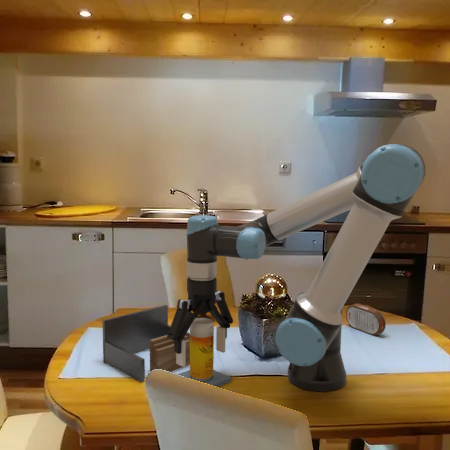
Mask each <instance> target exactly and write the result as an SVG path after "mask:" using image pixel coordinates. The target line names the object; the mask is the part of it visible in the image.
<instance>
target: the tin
mask: <svg viewBox="0 0 450 450" xmlns="http://www.w3.org/2000/svg"><path fill="white" fill-rule="evenodd" d="M345 311H346V312H345V315H346V321H347V323H348V325H349V326H350V327H351V328H352V329H355V330H357V331H359V332H363V333H364V334H365V333H366V334H367V335H371V336H377V335H381V334H382V333H384V332H385V329H386V327H387V325H386V323H387V322H386V319H385V317H384V315H383V313H382V312H381V311H379V310H378V309H376V308H373V307H369V306H367V305H363V304H361V303H353V304H351V305H349V306H348V307H347V308H346V310H345Z"/></svg>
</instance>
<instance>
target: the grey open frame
mask: <svg viewBox="0 0 450 450" xmlns="http://www.w3.org/2000/svg"><path fill="white" fill-rule="evenodd" d="M168 308H169V305H168V304H163V305H159V306H154V307H151V308H147V309H142V310H138V311H135V312H130V313H126V314H122V315H118V316H114V317H110V318H104V319H102V355H103V360H102V361H103V363H106V364H108V365H109V366H111V367H113V368H115V369H116V370H117V371H120V372H122V373H124V374H125V375H128V376H129V377H130V378H132V379H135V380H136V381H138V382H139V383H144V382H145V381H144V379H146V378H145V377H146V374H145V372H146V369H145V368H146V365H145V358H143V357H141V356H139V355H137V353H141V352H144V351H147V350H150V340H151V339H155V338H158V337H161V336H165V335H168V332H169V329H170V327H171V324H169V309H168ZM186 336H187V340H189V341H190V332H188V331H187V333H186Z"/></svg>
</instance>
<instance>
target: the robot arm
mask: <svg viewBox="0 0 450 450" xmlns="http://www.w3.org/2000/svg"><path fill="white" fill-rule="evenodd" d="M425 176H426V164H425V161H424V159H423V157H422V156H421V154H420V153H419V151H417V150H416V149H415V148H413V147H410V146H408V145H405V144H404V145H403V144H399V143H390V144H385V145H381V146H380V147H378V148H376V149H374V151H372V152H371V153H370V154H369V155H367V157H366V159H364V162H363V164H362V165H360V166H358V169H357V171H356V172H355V173H353V174H350V175H348V176H346V177H344V178H341V179H339V180H338V181H336V182H334V183H331V184H328V185H326V186H325V187H322V188H320V189H318V190H316V191H314V192H311V193H309V194H308V195H306V196H302V197H300V198H299V199H297V200H294V201H292V202H290V203H288V204H286V205H284V206H281V207H280V208H278V209H276V210H273V211H271V212H269V213H267V214H265V215H263V216H260V217H257V218H256V219H254V220H251V221H249V222H247V223H244V224H241V225H238V226H234V225H221V224H219V223H218V218H217V216H214V215H213V216H212V215H206V214H205V215H203V214H201V215H198V214H197V215H193V216H190V217H189V218H188V219H187V226H186V234H185V235H186V250H187V251H186V252H187V254H186V276H187V278H186V291H187V299H185V300H183V299H178V300H177V306H176V307H177V308H176V310H175V314H174V316H173V320H172V322H171V324H170V325H171V327H170V329H169V332H168V335H167V338H169V339H171V340H173V341H174V351H175V353H176V364H178V365H180V366H182V368H185V367H186V366H185V340H183V338H184V337H185V335H186V333H187V332H188V331H190V326H191V324H192V323H193V321H194V319H196V318H197V317H199V316H200V315H201V314H203V313H206V314H208V313H209V314H210V315H211V317H212V318H213V319H214V320H215V322H216V323H217V324H218V325H217V326H216V328H215V329H216V331H215V332H216V337H215V338H216V342H215V344H216V346H215V349H216V351H218V352H220V353H223V354H225V353H226V339H227V338H228V329H230V328H231V324H233V323H234V319H233V317H232V314H231V312H230V309H229V307H228V304H227V301H226V297H225V295H226V294H225V292H223V291H221V290H217V289H218V286H217V285H218V280H217V278H216V277H217V276H218V269H217V268H218V256H219V257H229V258H237V259H244V260H259V259H260V258H262V257H263V254H264V253H265V249H266V247H268V246H270V245H273V244H274V243H276V242H279V241H281V240H283V239H285V238H289V237H290V236H292V235H295V234H298V233H299V232H301V231H304V230H306V229H309V228H311V227H313V226H315V225H318V224H319V223H322V222H325V221H327V220H329V219H332V218H334V217H336V216H338V215H341V214H343V213H345V212H347V211H349V213H348V214H347V216H346V218H345V220H344V221H343V223H342V225H341V227H340V230H339V232H338V233H337V235H336V237H335V239H334V240H333V243H332V245H331V247H330V248H329V250H328V252H327V254H326V256H325V258H324V260H323V261H322V263H321V264H320V267H319V269H318V271H317V273H316V275H315V277H314V279H313V281H312V282H311V284H310V286H309V288H308V290H307V291H302V292H298V293H297V294H296V298H295V300H294V303H293V304H292V305H291V307H290V310H289V312H288V314H287V315H286V317H285V319H284V320H283V321H282V322H281V323H279V325H278V327H277V330H276V332H275V339H274V340H275V344H276V346H277V347H276V348H277V350H278V352H279V353H280V355H281V356H282V357H283V358H284V360H285V361H288V362H289V365H288V367H287V379H288V381H289V383H291V384H292V385H293V386H295V387H297V388H300V389H303V390H308V391H312V392H313V391H314V392H333V391H336V390H340V389H341V388H343V387H344V386H345V385H346V384H347V370H346V369H345V364H344V361H343V357H342V353H341V345H342V327H343V326H342V325H343V324H342V323H343V320H344V319H343V310H344V305H345V304H346V302H347V300H348V298H349V297H350V295H351V293H352V292H353V289H354V287H355V286H356V284H357V283H358V280H359V279H360V277H361V275H362V274H363V271H365V268H366V266H367V265H368V263H369V261H370V259H371V257H372V255H373V254H374V252H375V250H376V248H377V246H378V245H379V243H380V242H381V239H382V238H383V236H384V235H385V232H386V230H387V229H388V227H389V225H390V223H391V222H392V221H394V220H397V219H400V218H402V217H403V215H404V213H405V212H406V210H407V208H408V206H410V203H411V201H412V199H413V198H414V195H415V194H416V192H417V191H418V190H419V188H420V187H421V185H422V183H423V182H424V180H425ZM188 295H189V297H188ZM215 300H216V303H215V304H214V302H215ZM216 305H217V306H216ZM179 335H180V336H179ZM184 366H185V367H184Z"/></svg>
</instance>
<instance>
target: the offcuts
mask: <svg viewBox="0 0 450 450" xmlns="http://www.w3.org/2000/svg"><path fill="white" fill-rule="evenodd" d="M179 336H180V335H179ZM183 340H185V366H184V367H182V366H180V365H178V364H176V353H175V351H174V341H173V340H171V339H169V338H167V335H165V336H161V337H158V338H155V339H151V340H150V349H149V372H150V371H152V370H154V369H162V370H166V371H169V372H168V373H170V372H173V371H177V370H179V369H183V368H186V367H188V366H190V341H189V340H187V336H186V335H185V337H184V338H183Z"/></svg>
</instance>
